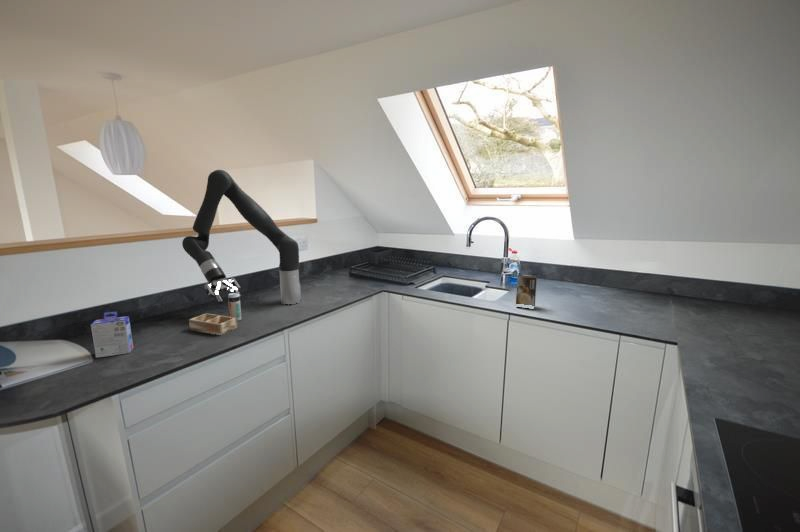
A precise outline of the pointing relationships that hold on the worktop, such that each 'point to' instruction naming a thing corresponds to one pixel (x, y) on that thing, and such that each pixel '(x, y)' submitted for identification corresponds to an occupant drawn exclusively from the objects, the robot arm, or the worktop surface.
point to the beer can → (234, 305)
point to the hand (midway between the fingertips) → (230, 300)
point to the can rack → (213, 324)
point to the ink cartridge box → (112, 335)
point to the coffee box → (526, 289)
